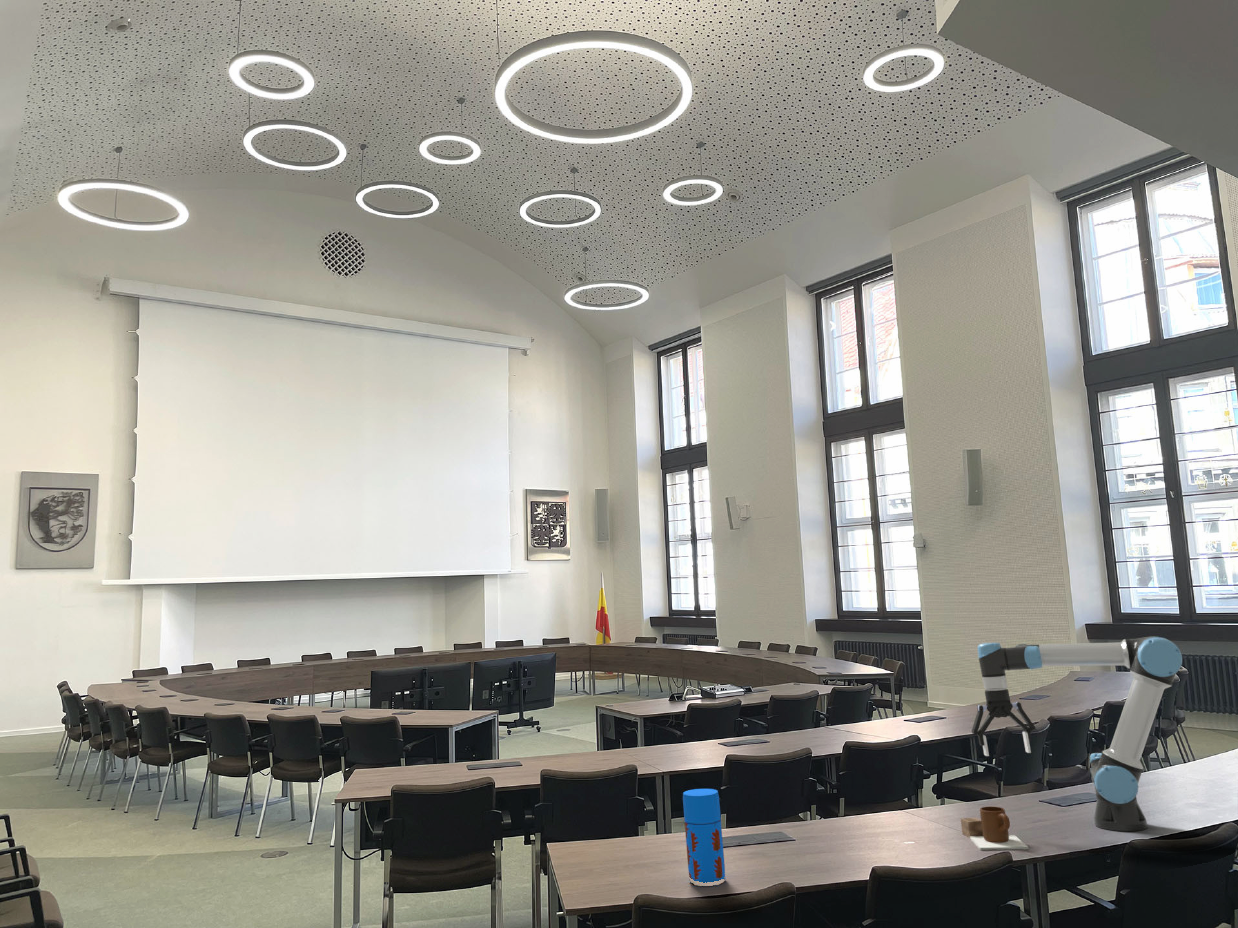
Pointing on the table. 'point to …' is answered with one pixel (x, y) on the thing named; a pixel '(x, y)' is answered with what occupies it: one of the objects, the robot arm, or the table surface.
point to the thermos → (703, 835)
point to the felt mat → (1009, 845)
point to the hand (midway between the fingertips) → (1007, 753)
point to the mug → (994, 824)
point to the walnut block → (971, 827)
